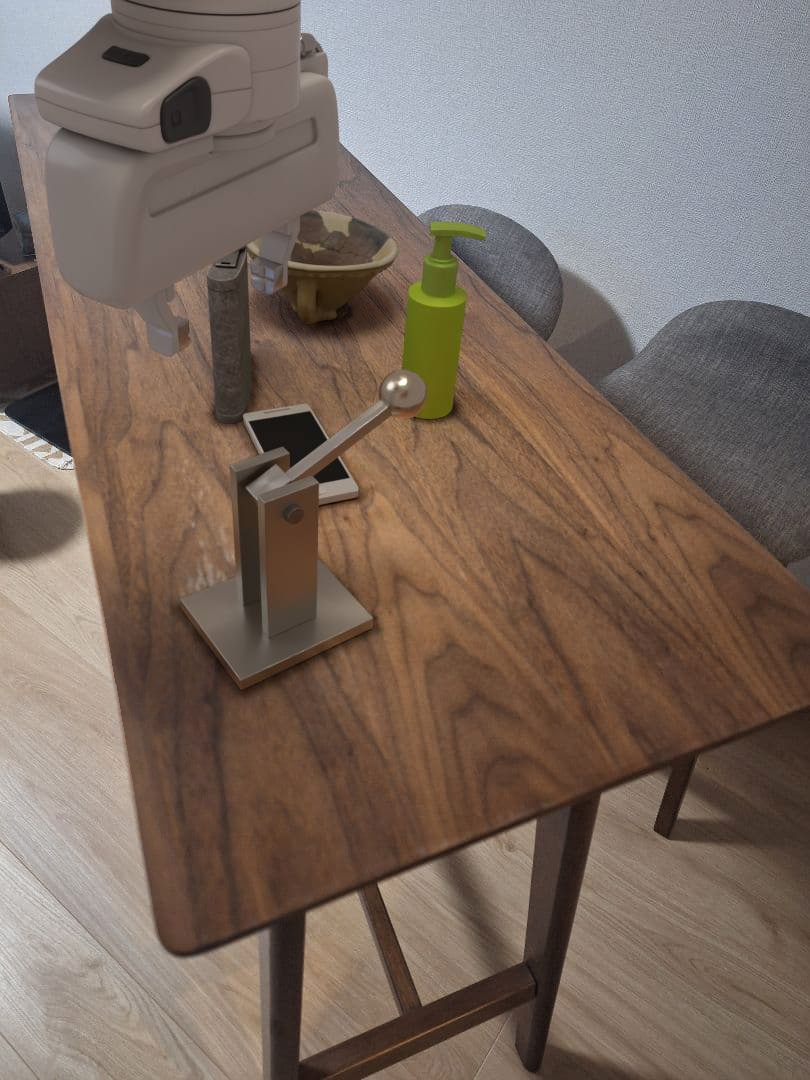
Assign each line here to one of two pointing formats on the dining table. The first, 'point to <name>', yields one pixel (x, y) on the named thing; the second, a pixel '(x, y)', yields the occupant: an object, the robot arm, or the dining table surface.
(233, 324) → the flask
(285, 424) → the smartphone
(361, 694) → the dining table surface
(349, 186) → the dining table surface
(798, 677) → the dining table surface
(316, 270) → the bowl
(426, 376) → the soap dispenser
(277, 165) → the robot arm
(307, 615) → the metal pivot stand
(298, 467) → the lever
